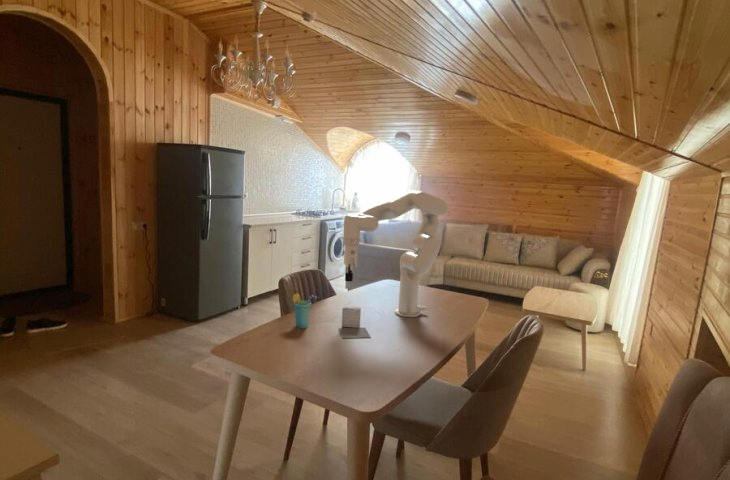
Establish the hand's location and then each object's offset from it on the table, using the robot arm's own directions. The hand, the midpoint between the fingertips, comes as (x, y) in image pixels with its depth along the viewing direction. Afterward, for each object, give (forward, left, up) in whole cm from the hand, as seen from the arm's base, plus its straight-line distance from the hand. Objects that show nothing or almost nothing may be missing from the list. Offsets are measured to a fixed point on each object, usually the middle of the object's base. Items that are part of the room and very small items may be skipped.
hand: (348, 280), depth 183 cm
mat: (0, +17, -19) cm, 25 cm away
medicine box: (0, +9, -19) cm, 21 cm away
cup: (+21, +7, -19) cm, 29 cm away
